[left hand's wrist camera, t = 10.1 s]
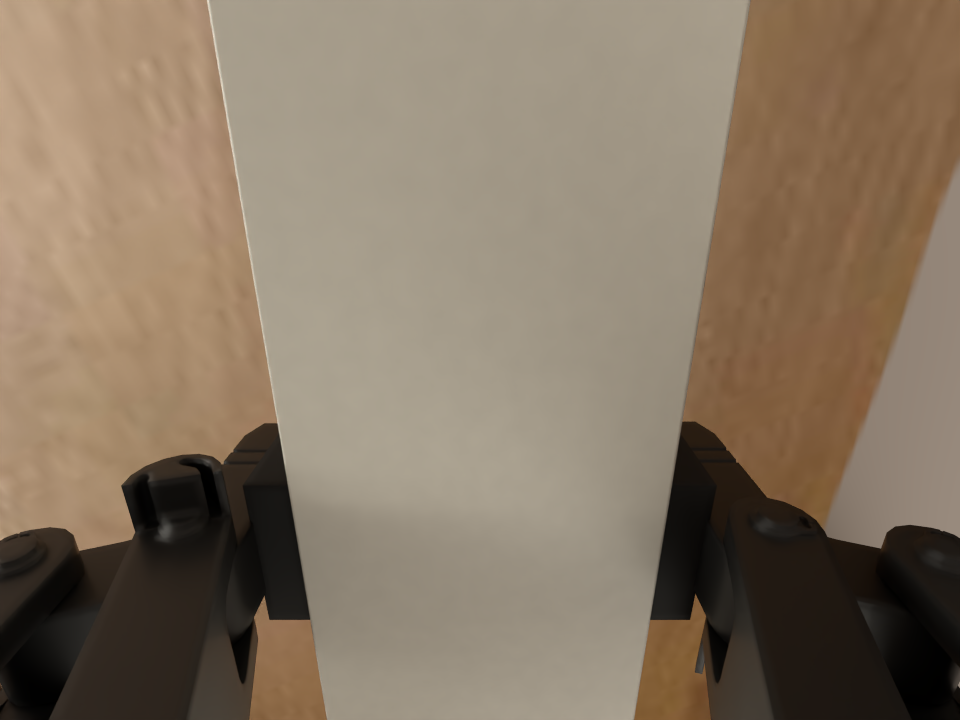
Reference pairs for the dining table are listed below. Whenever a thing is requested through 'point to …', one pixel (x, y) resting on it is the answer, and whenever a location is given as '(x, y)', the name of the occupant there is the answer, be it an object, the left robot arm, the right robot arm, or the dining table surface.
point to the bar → (479, 326)
